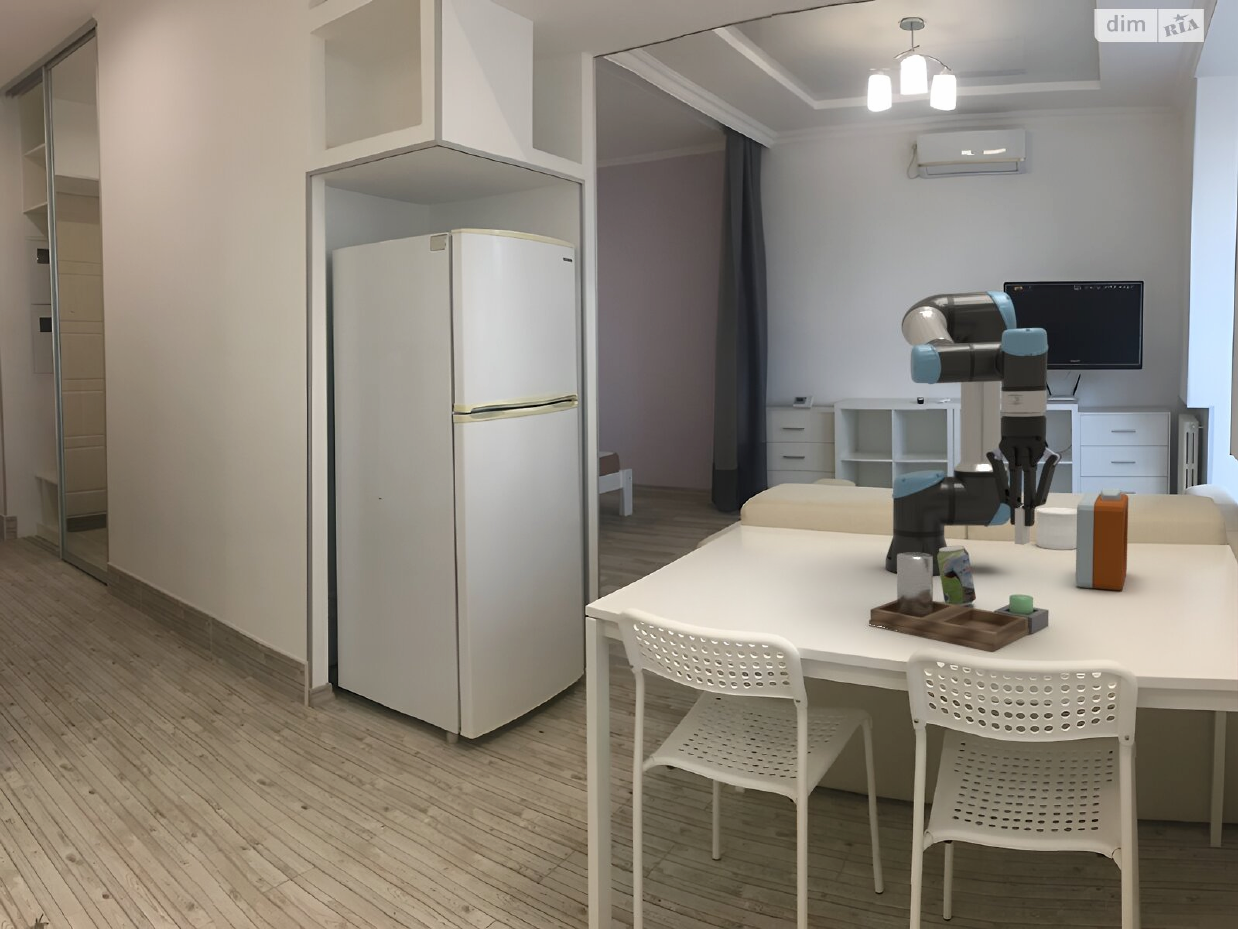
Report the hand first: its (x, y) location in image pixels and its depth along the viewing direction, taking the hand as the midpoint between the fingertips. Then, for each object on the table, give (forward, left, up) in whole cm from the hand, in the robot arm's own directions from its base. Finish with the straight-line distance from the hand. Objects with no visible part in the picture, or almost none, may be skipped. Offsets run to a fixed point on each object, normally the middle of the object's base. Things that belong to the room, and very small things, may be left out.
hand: (1022, 543), depth 164 cm
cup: (-24, +76, -16) cm, 81 cm away
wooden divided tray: (-9, -10, -16) cm, 21 cm away
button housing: (0, 0, -16) cm, 16 cm away
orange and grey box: (-2, +45, -16) cm, 47 cm away
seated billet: (-16, -10, -15) cm, 24 cm away
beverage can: (-16, +7, -16) cm, 24 cm away
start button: (0, 0, -16) cm, 16 cm away
